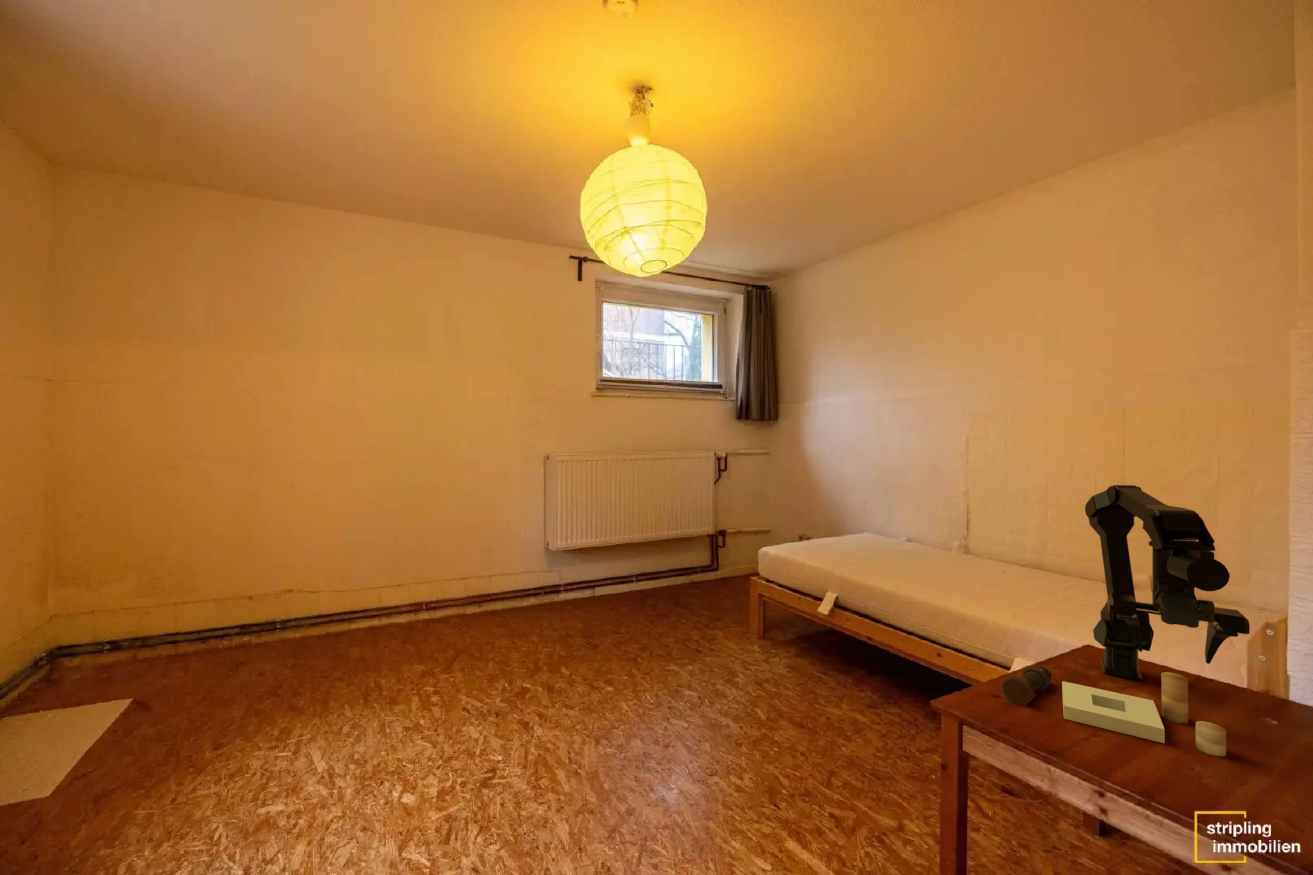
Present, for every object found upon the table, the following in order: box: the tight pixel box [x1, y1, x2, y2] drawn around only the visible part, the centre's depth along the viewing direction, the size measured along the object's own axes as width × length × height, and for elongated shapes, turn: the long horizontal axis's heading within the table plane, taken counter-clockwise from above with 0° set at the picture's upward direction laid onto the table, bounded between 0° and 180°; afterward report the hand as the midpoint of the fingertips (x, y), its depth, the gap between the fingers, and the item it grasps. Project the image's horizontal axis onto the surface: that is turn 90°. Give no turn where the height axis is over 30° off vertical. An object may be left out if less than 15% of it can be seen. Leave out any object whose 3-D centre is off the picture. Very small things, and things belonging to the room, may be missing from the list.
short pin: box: [1195, 720, 1227, 757], centre depth 90 cm, size 4×4×4 cm
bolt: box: [1000, 665, 1053, 707], centre depth 111 cm, size 6×5×15 cm
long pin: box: [1160, 671, 1189, 724], centre depth 100 cm, size 4×4×8 cm
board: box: [1061, 680, 1166, 744], centre depth 101 cm, size 12×14×2 cm
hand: (1173, 656), depth 100 cm, fingers open, 9 cm apart
